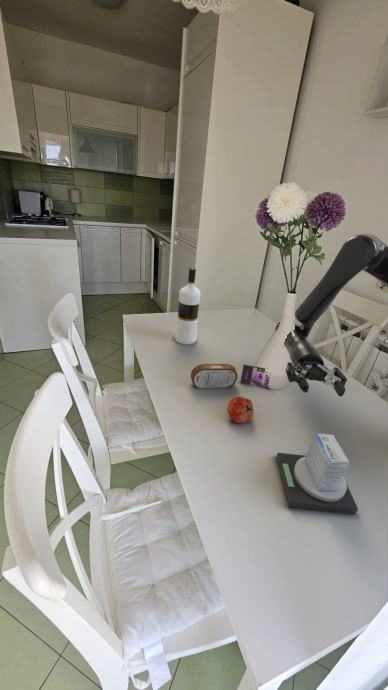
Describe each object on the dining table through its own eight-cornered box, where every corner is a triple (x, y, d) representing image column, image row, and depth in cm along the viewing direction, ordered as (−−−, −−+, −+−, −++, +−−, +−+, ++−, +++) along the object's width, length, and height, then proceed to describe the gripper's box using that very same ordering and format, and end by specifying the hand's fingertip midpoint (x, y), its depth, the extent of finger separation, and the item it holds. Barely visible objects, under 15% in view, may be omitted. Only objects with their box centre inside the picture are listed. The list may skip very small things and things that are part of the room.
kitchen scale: (331, 465, 75) (336, 455, 73) (354, 516, 63) (360, 506, 61) (275, 459, 74) (278, 449, 73) (287, 509, 63) (291, 498, 61)
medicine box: (337, 491, 64) (351, 462, 60) (316, 491, 64) (329, 462, 60) (321, 461, 71) (333, 433, 67) (303, 460, 71) (314, 432, 66)
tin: (233, 384, 101) (237, 362, 98) (236, 389, 99) (240, 367, 95) (189, 384, 98) (191, 362, 95) (190, 390, 96) (193, 368, 92)
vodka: (178, 346, 120) (185, 271, 106) (171, 336, 128) (176, 265, 114) (200, 344, 124) (209, 271, 110) (191, 334, 131) (198, 265, 117)
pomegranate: (220, 422, 87) (238, 425, 78) (219, 397, 88) (236, 396, 79) (242, 421, 90) (262, 423, 81) (241, 396, 91) (260, 395, 82)
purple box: (243, 365, 100) (271, 370, 99) (243, 362, 105) (269, 366, 104) (240, 384, 101) (267, 389, 100) (239, 380, 106) (265, 385, 105)
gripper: (283, 343, 85) (299, 375, 71) (333, 348, 85) (359, 381, 71) (277, 366, 88) (291, 401, 74) (325, 371, 89) (348, 407, 74)
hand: (324, 391), depth 72 cm, fingers open, 8 cm apart
